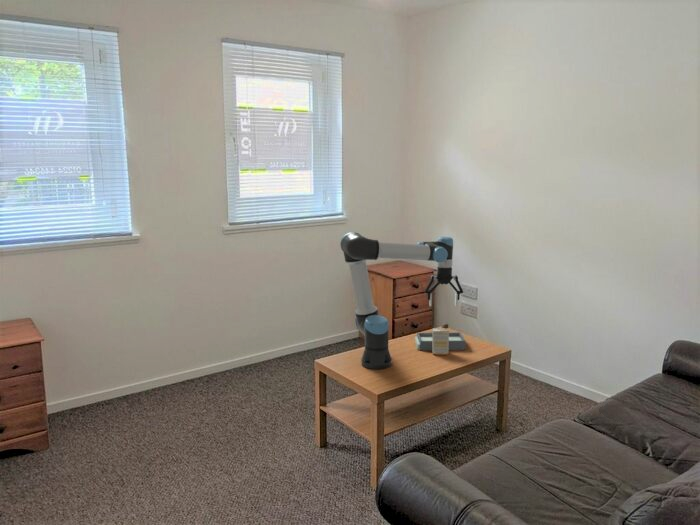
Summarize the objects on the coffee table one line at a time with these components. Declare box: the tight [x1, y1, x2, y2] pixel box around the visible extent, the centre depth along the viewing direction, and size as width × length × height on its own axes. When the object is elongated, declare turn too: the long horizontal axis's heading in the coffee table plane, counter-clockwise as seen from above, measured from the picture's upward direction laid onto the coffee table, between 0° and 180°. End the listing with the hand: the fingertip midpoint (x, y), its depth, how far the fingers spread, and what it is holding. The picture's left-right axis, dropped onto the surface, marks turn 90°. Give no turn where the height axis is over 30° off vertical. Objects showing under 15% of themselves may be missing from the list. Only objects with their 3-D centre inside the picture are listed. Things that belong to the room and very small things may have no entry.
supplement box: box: [431, 327, 450, 356], centre depth 286 cm, size 8×5×13 cm, turn 84°
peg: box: [441, 322, 449, 330], centre depth 298 cm, size 3×3×12 cm
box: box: [414, 331, 467, 351], centre depth 298 cm, size 25×14×5 cm, turn 90°
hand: (443, 305), depth 292 cm, fingers open, 13 cm apart
